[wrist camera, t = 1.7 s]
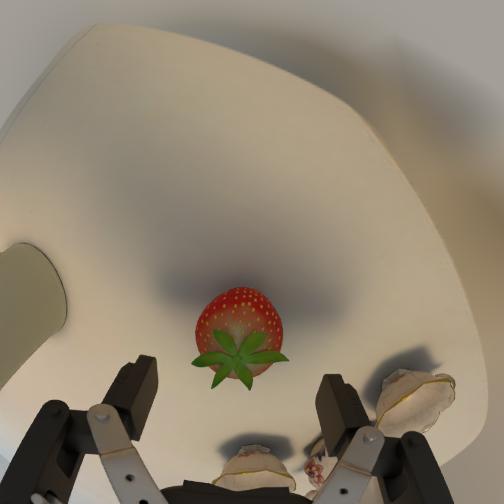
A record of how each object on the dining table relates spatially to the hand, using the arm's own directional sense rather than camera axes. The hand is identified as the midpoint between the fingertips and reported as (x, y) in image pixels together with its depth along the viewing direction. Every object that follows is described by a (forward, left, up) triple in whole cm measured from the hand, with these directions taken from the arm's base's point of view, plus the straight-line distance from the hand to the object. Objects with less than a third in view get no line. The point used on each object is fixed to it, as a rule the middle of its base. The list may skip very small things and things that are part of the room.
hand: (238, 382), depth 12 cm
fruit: (0, 0, -9) cm, 9 cm away
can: (+2, -20, -9) cm, 22 cm away
